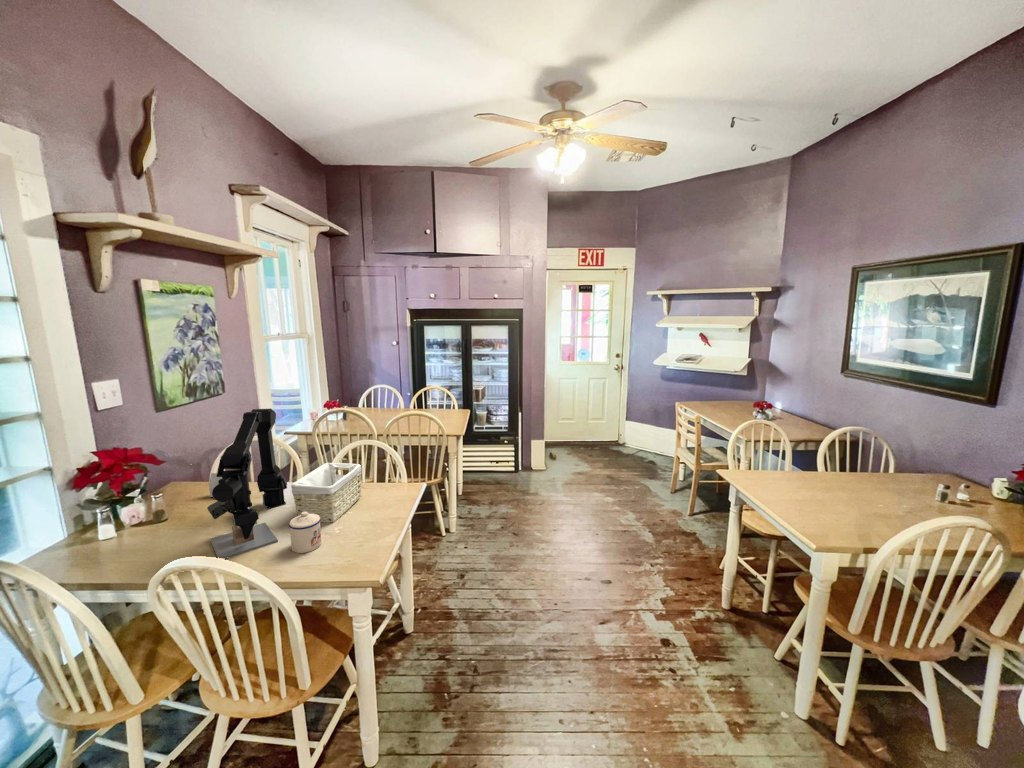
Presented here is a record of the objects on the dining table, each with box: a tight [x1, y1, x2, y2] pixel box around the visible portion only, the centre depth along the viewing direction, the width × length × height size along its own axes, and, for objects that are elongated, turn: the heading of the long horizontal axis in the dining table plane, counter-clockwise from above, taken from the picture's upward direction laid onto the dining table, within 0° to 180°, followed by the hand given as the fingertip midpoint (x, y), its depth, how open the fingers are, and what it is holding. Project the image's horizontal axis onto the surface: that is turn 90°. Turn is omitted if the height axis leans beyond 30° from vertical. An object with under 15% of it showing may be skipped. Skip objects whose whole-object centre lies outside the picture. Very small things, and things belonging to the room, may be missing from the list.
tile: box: [210, 522, 279, 560], centre depth 136 cm, size 16×16×1 cm
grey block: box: [208, 472, 222, 497], centre depth 169 cm, size 4×7×10 cm, turn 90°
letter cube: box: [231, 523, 254, 545], centre depth 135 cm, size 5×5×5 cm
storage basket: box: [290, 462, 362, 523], centre depth 158 cm, size 24×16×15 cm
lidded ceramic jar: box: [288, 511, 322, 554], centre depth 134 cm, size 12×9×12 cm
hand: (243, 533), depth 135 cm, fingers open, 9 cm apart
